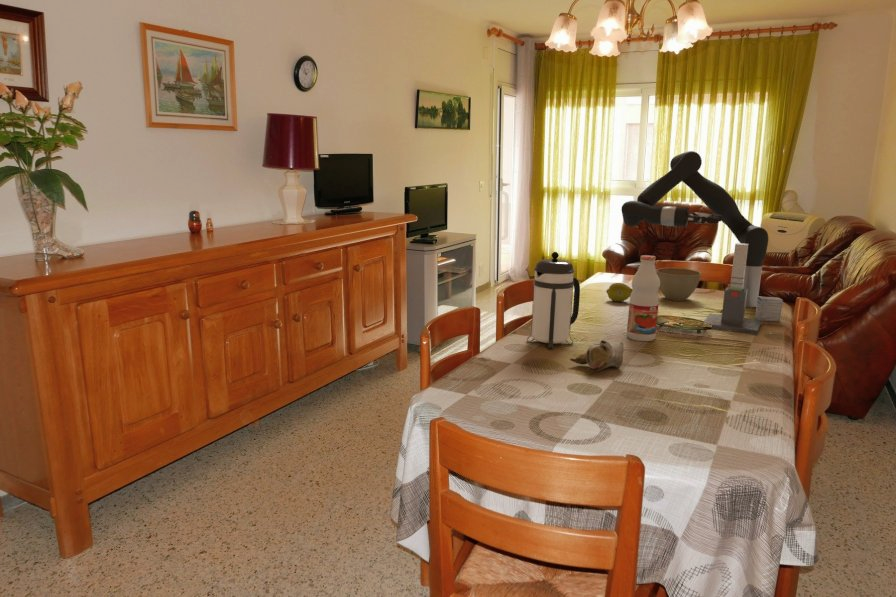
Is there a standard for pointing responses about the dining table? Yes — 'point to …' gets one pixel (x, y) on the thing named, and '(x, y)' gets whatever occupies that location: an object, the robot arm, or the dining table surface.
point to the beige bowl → (678, 282)
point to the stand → (734, 314)
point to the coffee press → (554, 301)
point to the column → (739, 267)
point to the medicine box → (768, 308)
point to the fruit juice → (644, 301)
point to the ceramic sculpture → (602, 356)
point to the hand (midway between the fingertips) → (720, 219)
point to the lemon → (619, 292)
